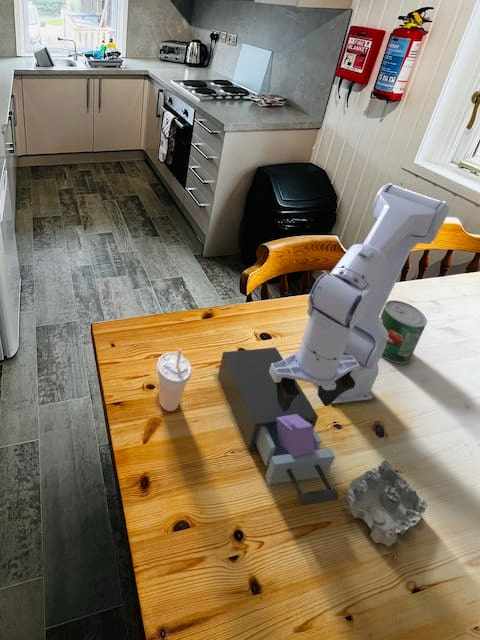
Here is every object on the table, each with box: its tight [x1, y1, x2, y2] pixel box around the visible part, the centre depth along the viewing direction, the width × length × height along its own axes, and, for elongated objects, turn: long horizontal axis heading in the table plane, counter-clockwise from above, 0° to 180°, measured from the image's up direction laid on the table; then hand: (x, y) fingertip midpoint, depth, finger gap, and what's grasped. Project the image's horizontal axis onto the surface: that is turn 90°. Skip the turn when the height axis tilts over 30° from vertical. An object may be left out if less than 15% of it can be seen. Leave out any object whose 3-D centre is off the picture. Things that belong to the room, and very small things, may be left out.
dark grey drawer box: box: [217, 347, 319, 451], centre depth 75 cm, size 15×12×7 cm
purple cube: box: [277, 414, 315, 457], centre depth 65 cm, size 4×4×4 cm
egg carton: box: [346, 459, 428, 548], centre depth 61 cm, size 11×8×4 cm
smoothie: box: [156, 348, 192, 412], centre depth 74 cm, size 6×6×14 cm
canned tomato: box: [379, 299, 428, 365], centre depth 89 cm, size 8×8×11 cm
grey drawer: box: [255, 421, 340, 507], centre depth 67 cm, size 18×10×5 cm, turn 8°
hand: (302, 403), depth 67 cm, fingers open, 7 cm apart
